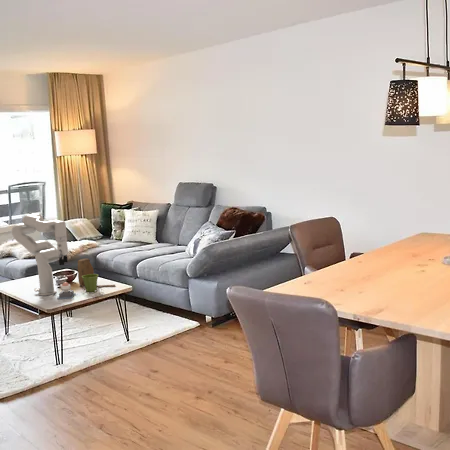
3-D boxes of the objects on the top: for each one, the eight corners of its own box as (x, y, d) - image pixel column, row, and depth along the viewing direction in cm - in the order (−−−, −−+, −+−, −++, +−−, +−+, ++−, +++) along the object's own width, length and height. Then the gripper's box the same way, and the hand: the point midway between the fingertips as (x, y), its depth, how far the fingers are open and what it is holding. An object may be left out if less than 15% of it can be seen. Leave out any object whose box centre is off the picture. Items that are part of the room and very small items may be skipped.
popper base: (57, 299, 377) (57, 294, 376) (61, 295, 387) (61, 290, 386) (72, 298, 377) (71, 293, 376) (75, 294, 387) (75, 289, 386)
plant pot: (103, 289, 397) (101, 274, 395) (91, 293, 387) (89, 278, 385) (91, 287, 403) (90, 273, 401) (79, 292, 393) (78, 276, 391)
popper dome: (60, 294, 378) (59, 283, 377) (62, 292, 384) (61, 281, 383) (69, 294, 378) (68, 283, 377) (72, 291, 385) (71, 280, 383)
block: (82, 286, 407) (80, 260, 404) (78, 285, 413) (75, 259, 410) (95, 284, 414) (93, 258, 411) (91, 282, 420) (88, 257, 417)
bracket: (94, 287, 403) (94, 286, 403) (95, 286, 406) (95, 285, 405) (114, 286, 403) (114, 285, 403) (115, 285, 406) (115, 284, 406)
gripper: (63, 240, 367) (65, 266, 370) (69, 236, 384) (72, 260, 387) (52, 241, 367) (54, 266, 370) (59, 237, 384) (61, 261, 387)
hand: (63, 263), depth 378 cm, fingers open, 8 cm apart
